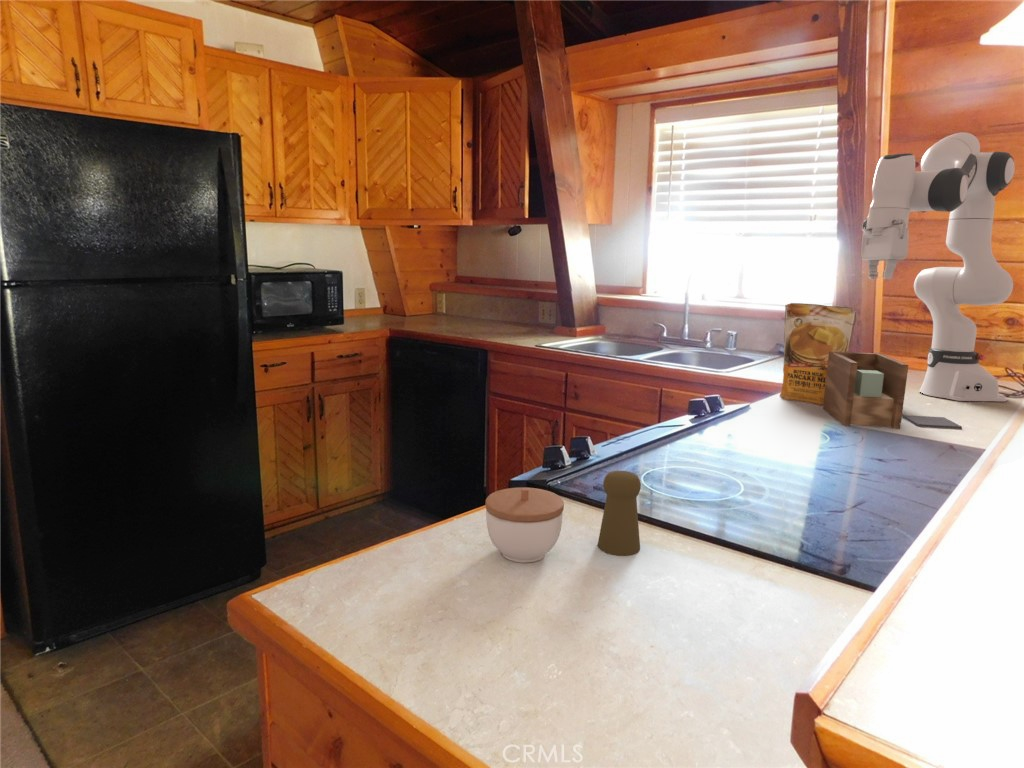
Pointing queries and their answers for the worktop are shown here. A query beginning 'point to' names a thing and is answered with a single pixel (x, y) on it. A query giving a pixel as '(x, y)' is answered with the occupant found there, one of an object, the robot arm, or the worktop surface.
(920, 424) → the mat
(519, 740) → the worktop surface
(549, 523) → the lidded jar
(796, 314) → the pancake mix bag
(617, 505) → the cork
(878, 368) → the bin
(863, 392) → the block
